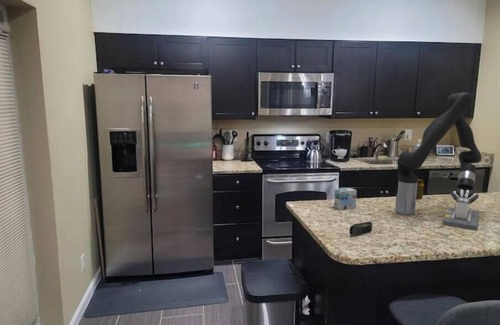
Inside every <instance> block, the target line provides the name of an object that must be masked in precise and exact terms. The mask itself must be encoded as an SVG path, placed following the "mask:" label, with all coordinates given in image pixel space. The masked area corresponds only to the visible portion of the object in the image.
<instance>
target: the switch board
mask: <svg viewBox="0 0 500 325" xmlns="http://www.w3.org/2000/svg"><path fill="white" fill-rule="evenodd" d="M455 216H456V206H454V207H448V209H447V210H446V212H445V214H444V218H443V220H442V225H444V226H448V227H454V228H461V229H466V230H473V231H478V224H479V216H480V211H477V210H473V208H469V209H468V217H467V219H462V218H456V217H455Z"/></svg>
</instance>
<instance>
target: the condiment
mask: <svg viewBox="0 0 500 325" xmlns="http://www.w3.org/2000/svg"><path fill="white" fill-rule="evenodd" d="M424 187H425V186H424V180H423V179H419V178H418V180H417V192H416V201H422V200H424V199H425V197H424Z"/></svg>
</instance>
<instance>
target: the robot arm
mask: <svg viewBox="0 0 500 325" xmlns="http://www.w3.org/2000/svg"><path fill="white" fill-rule="evenodd" d="M473 103H474V95H472V93H470V92H467V91H466V92H456V93H451V94H450V95H448V97H447V99H446V104H447V108H448V109H447V111H445V112H444V113H442V114H441V115H440V116H438V117H436V118H435V119H433V120H432V121H431V123H430V124H428V126H427V127H426V128H425V129H424V132H423V134H422V139H421V143H420V144H419V146H418V147H417V148H416V150H414V151H413V152H412V151H402V152H401V153H400V154H399V156H398V157H397V158H398V159H397V177H398V183H397V184H398V186H397V194H396V195H395V205H394V206H395V207H394V212H395V213H398V214H401V215H403V216H404V215H406V216H407V215H408V216H409V215H410V216H411V215H412V216H414V215H415V213H416V205H417V204H416V202H417V200H416V192H417V180H418V179H419V178H418V176H417V175H415V173H414V171H417V170H419V169H420V168H421V167H422V166H423V164H424V162H425V161H426V159H427V158H428V156H429V155H430V154H431V153H432V151H433V150H434V148H435V147H436V146H437V145H438V143H439V142H440V141H441V140H442V139H443V138H444V137H445V135H446V134H447V133H448V131H450V130H451V128H452V127H453V125H454V126H455V128H456V133H457V137H458V143H459V147H460V148H464V149H469V150H465V151H461V152H460V153H459V154H458V161H459V166H460V167H459V168H460V169H459V174H458V179H457V186H456V188H455V190H453V191H452V190H451V191H450V196H451V197H452V199H454V200H455V203H457V199H464V200H470V201H469V205H471V204H473V202H475V201H477V200H478V199H479V196H480V195H479V194H477V193H475V184H476V169H477V167H476V165H474V164H479V163H480V162H481V161H482V154H481V152H480V151H479V148H478V146H477V145H476V142H475V137H474V132H473V130H472V128H471V126H470V124H469V123H468V122H467V120H466V119H465V117H464V114H465V113H466V112H467V111H468V110H469V109H470V108H471V106H472V105H473Z"/></svg>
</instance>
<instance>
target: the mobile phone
mask: <svg viewBox="0 0 500 325" xmlns="http://www.w3.org/2000/svg"><path fill="white" fill-rule="evenodd" d="M372 231H373V223H372V222H371V221H364V222H359V223H358V222H357V223H353V224H352V225H351V226H350V227H349V238H352V237H357V236H361V235H366V234H370V233H371V232H372Z"/></svg>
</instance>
